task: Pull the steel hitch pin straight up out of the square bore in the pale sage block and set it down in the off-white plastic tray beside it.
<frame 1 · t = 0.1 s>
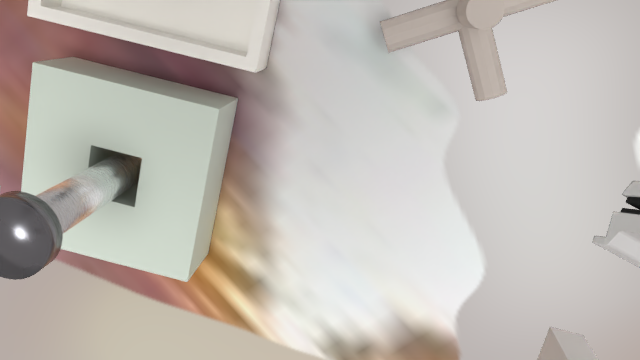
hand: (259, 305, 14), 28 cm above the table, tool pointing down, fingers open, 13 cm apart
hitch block: (143, 158, 43), on the table
steel pin: (90, 190, 35), in the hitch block
pipe connector: (459, 11, 38), on the table
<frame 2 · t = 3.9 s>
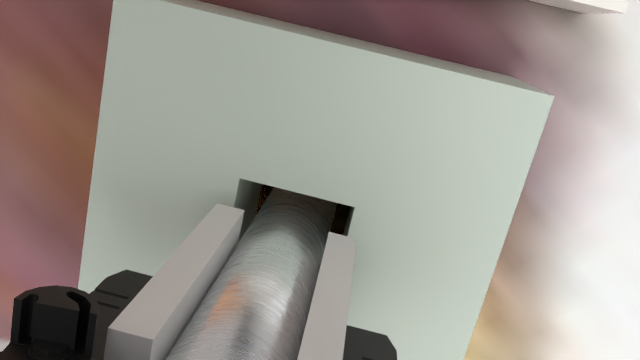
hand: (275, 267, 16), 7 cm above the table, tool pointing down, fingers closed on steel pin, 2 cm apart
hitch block: (305, 196, 22), on the table
steel pin: (264, 293, 14), in the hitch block, touching gripper
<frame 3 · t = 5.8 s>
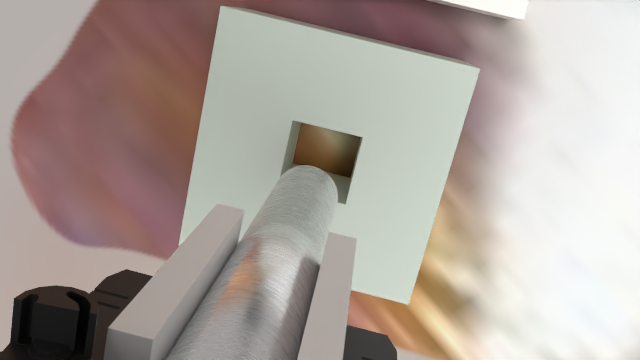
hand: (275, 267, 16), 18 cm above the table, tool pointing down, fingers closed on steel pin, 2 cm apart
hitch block: (328, 142, 33), on the table
steel pin: (264, 293, 14), point 19 cm above the table, touching gripper
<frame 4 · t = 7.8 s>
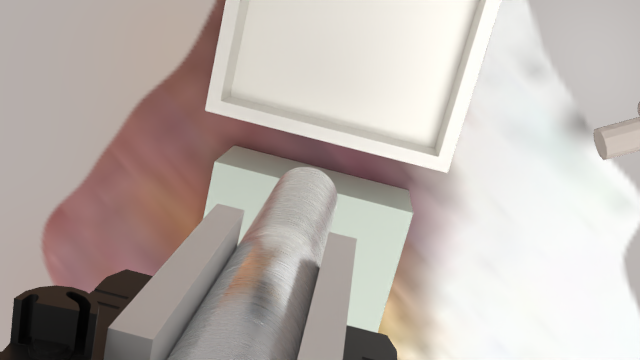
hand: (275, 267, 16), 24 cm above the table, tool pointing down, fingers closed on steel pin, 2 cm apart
tray: (358, 16, 37), on the table
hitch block: (300, 249, 41), on the table
steel pin: (264, 296, 14), point 25 cm above the table, touching gripper
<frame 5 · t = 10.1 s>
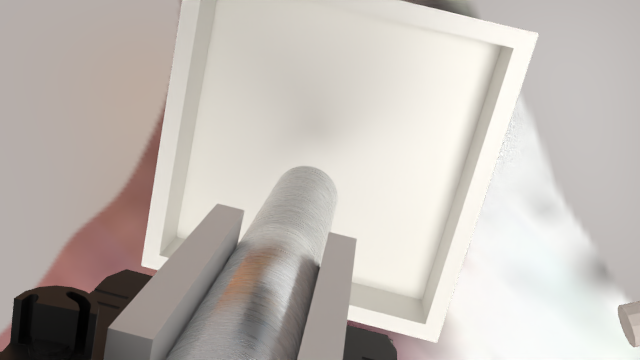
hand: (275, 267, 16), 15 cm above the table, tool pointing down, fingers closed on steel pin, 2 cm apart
tray: (328, 143, 30), on the table
steel pin: (264, 295, 14), point 17 cm above the table, touching gripper
when the fingers open (8 cm above the table, at t = 11.9 s): steel pin stays where it is, resting on tray.
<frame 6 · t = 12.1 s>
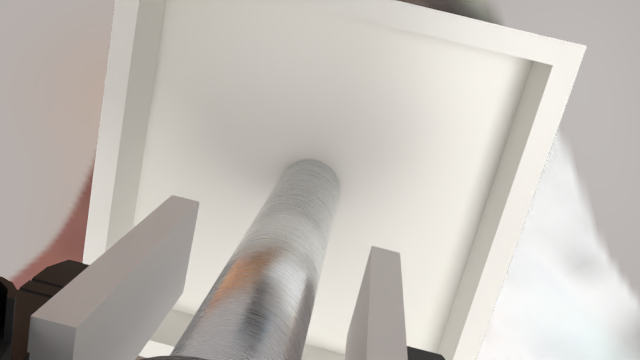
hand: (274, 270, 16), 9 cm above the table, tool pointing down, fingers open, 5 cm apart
tray: (311, 181, 24), on the table
steel pin: (272, 276, 15), in the tray, point 9 cm above the table
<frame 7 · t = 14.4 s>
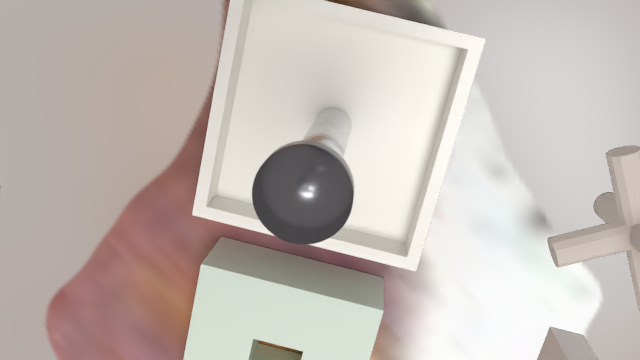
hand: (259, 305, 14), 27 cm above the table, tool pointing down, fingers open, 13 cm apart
tray: (333, 122, 40), on the table
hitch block: (284, 329, 44), on the table
steel pin: (321, 152, 31), in the tray, point 9 cm above the table
pipe connector: (606, 204, 40), on the table
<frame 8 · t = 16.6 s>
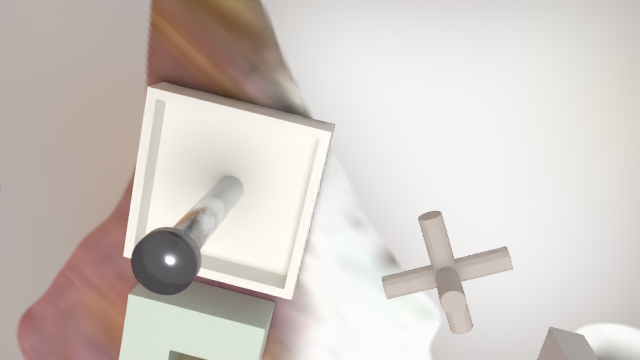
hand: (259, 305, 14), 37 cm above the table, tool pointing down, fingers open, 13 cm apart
tray: (232, 185, 52), on the table
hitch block: (202, 341, 57), on the table
steel pin: (202, 220, 43), in the tray, point 9 cm above the table
pipe connector: (440, 248, 52), on the table
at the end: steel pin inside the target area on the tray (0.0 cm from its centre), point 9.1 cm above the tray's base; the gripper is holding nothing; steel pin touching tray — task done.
